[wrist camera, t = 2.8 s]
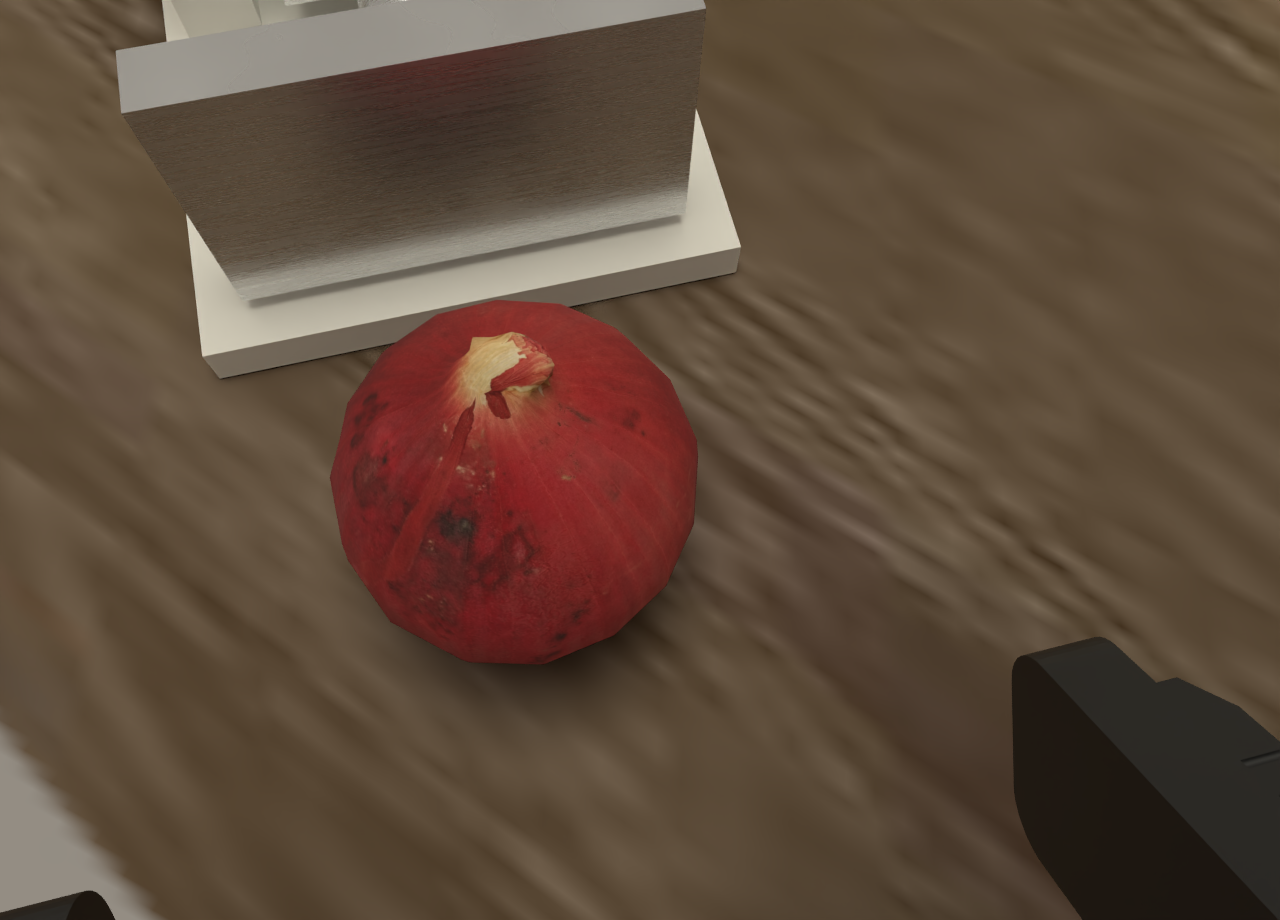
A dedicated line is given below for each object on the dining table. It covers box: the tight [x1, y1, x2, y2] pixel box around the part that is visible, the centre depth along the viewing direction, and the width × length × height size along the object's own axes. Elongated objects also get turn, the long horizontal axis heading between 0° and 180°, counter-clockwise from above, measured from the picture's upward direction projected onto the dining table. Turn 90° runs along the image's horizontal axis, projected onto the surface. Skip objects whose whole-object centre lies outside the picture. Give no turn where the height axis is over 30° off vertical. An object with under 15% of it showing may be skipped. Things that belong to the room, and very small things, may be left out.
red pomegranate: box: [330, 300, 698, 664], centre depth 17 cm, size 6×6×8 cm
